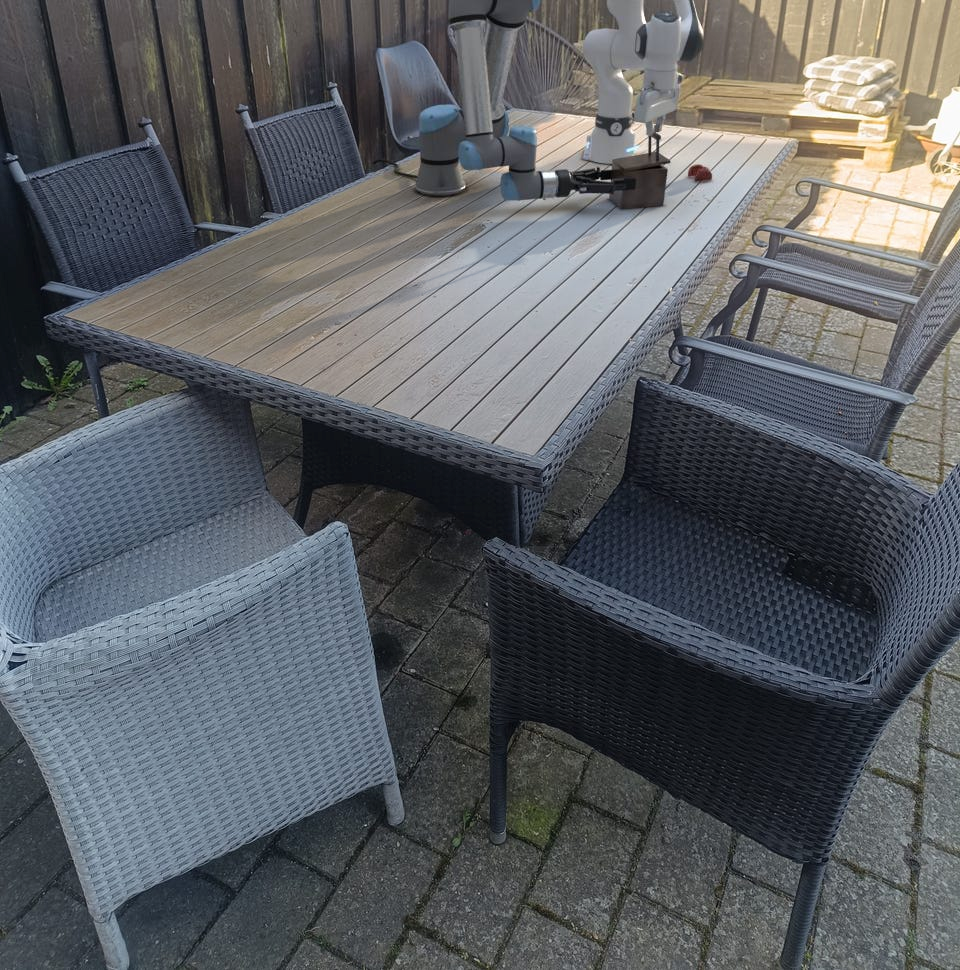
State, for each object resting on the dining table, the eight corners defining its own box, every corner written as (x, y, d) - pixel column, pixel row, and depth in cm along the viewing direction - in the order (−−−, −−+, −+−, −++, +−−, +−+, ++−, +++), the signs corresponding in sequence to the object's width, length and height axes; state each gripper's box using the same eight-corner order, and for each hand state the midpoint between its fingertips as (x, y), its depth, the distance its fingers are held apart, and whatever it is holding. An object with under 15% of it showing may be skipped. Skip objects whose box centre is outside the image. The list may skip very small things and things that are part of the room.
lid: (656, 154, 247) (657, 126, 242) (670, 163, 239) (671, 134, 234) (612, 162, 245) (611, 134, 240) (624, 171, 237) (624, 142, 232)
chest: (650, 195, 254) (654, 159, 247) (663, 205, 246) (668, 168, 239) (608, 198, 251) (612, 162, 245) (620, 209, 243) (624, 171, 237)
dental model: (703, 160, 269) (714, 167, 263) (701, 174, 271) (713, 181, 265) (687, 162, 268) (698, 169, 262) (685, 176, 270) (696, 183, 264)
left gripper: (543, 185, 251) (613, 181, 255) (565, 209, 233) (641, 203, 237) (544, 159, 247) (616, 155, 251) (567, 181, 229) (644, 176, 233)
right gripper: (652, 88, 222) (646, 142, 230) (686, 75, 235) (679, 127, 243) (631, 85, 225) (626, 139, 233) (665, 72, 238) (659, 124, 246)
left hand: (628, 179), depth 244 cm, fingers closed on chest, 10 cm apart
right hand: (653, 133), depth 238 cm, fingers closed on lid, 3 cm apart
